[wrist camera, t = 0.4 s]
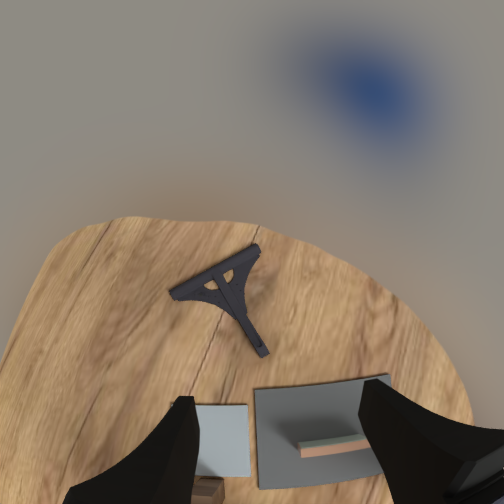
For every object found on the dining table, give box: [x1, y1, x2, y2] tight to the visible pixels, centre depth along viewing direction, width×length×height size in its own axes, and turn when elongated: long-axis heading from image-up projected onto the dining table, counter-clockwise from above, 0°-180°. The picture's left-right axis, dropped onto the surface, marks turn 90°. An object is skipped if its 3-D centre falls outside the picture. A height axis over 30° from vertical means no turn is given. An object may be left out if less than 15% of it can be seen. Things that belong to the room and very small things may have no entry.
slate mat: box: [255, 374, 392, 490], centre depth 33 cm, size 14×18×1 cm
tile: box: [297, 434, 371, 458], centre depth 30 cm, size 1×8×5 cm, turn 93°
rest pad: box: [171, 404, 251, 477], centre depth 33 cm, size 10×10×1 cm
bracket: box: [169, 243, 270, 358], centre depth 41 cm, size 14×15×3 cm
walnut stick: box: [191, 478, 225, 504], centre depth 27 cm, size 3×3×8 cm
